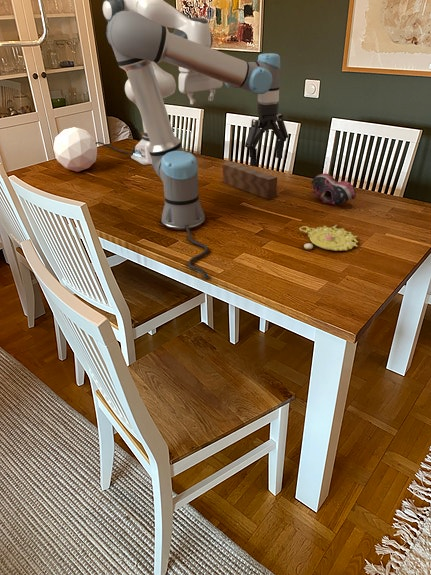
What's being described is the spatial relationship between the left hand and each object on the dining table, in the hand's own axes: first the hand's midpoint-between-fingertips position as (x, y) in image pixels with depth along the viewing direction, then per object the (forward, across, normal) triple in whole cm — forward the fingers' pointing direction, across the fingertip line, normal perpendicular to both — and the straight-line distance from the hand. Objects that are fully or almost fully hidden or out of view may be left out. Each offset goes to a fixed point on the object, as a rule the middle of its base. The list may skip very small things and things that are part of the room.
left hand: (202, 102), depth 183 cm
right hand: (+17, -2, +37) cm, 41 cm away
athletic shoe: (+30, -15, +57) cm, 66 cm away
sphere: (+31, +39, -47) cm, 68 cm away
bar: (+30, -2, +27) cm, 41 cm away
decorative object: (+30, +11, +79) cm, 85 cm away
